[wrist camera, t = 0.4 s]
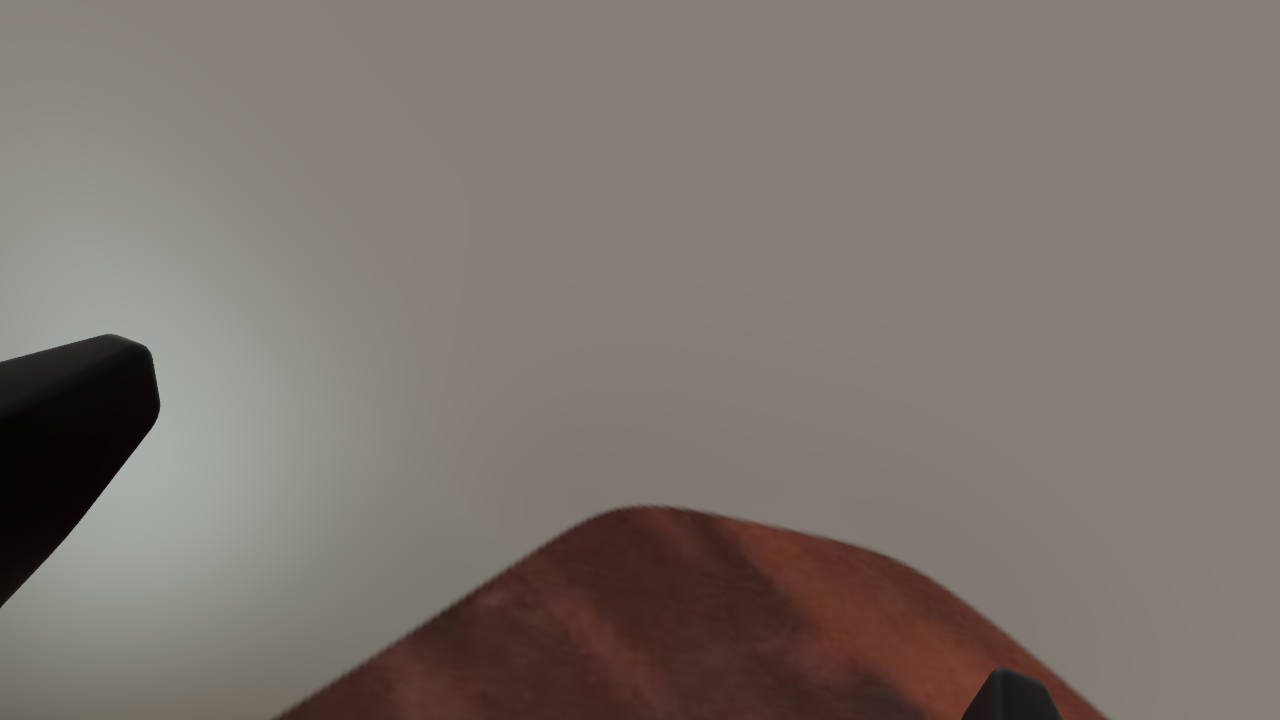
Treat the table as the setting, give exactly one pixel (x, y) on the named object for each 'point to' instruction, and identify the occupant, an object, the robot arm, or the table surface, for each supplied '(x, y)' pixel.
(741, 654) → the table surface
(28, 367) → the robot arm
